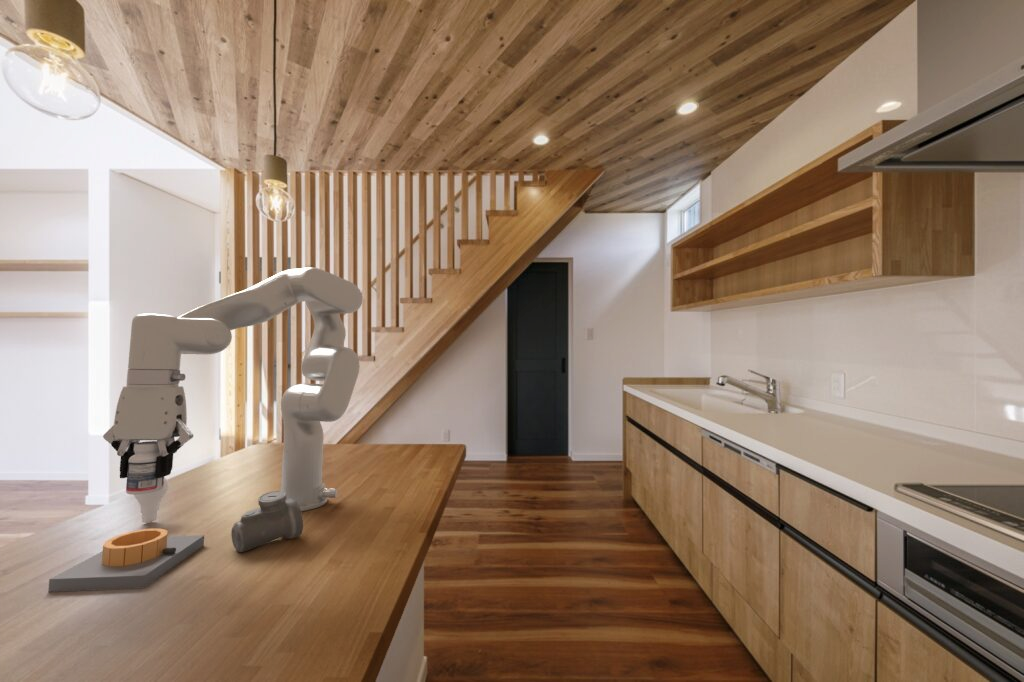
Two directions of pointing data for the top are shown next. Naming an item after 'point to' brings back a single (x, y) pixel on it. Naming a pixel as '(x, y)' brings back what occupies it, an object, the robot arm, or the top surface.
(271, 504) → the pipe fitting
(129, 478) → the pill bottle
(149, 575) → the plate
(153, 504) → the lightbulb
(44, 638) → the top surface
